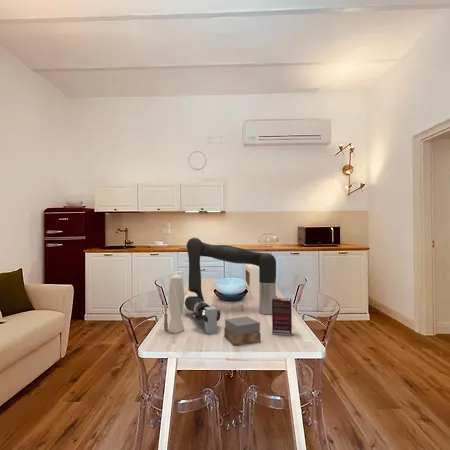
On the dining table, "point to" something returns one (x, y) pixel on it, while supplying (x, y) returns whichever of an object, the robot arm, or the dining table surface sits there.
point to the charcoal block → (242, 325)
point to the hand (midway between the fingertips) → (212, 319)
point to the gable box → (252, 277)
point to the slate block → (211, 320)
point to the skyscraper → (175, 305)
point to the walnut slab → (242, 338)
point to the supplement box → (281, 316)
